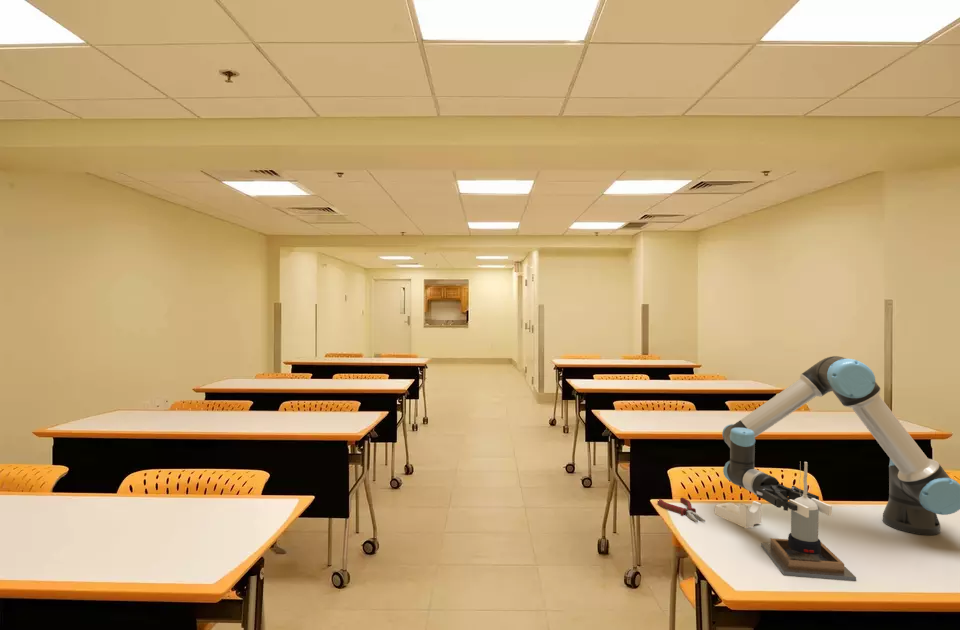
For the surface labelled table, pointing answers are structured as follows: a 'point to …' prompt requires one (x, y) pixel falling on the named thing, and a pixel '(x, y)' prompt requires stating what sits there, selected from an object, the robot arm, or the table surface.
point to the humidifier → (805, 524)
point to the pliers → (682, 509)
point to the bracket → (740, 513)
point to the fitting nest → (806, 562)
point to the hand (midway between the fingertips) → (819, 511)
